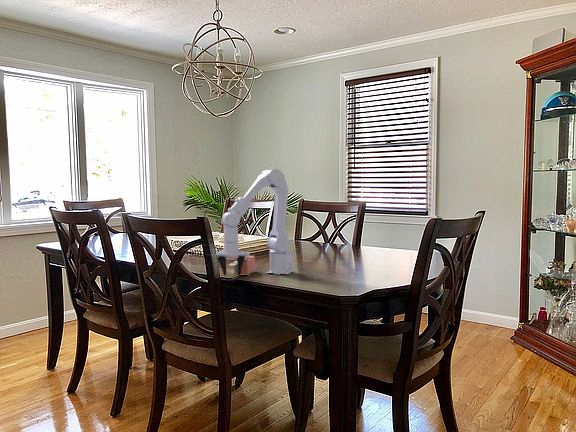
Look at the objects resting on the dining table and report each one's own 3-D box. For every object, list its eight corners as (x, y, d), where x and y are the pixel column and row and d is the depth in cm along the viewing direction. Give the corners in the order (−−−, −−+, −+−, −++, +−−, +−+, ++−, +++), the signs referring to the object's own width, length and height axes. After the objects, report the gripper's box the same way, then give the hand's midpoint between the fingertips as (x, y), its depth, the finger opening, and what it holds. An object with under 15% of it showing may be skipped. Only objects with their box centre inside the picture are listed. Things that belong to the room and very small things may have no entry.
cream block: (236, 273, 208) (236, 260, 208) (244, 273, 207) (243, 260, 207) (226, 279, 197) (226, 265, 196) (234, 279, 196) (233, 265, 195)
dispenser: (233, 270, 214) (233, 255, 213) (255, 271, 211) (254, 255, 211) (225, 275, 204) (224, 259, 203) (247, 276, 201) (247, 259, 201)
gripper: (250, 240, 200) (251, 272, 201) (215, 240, 201) (216, 272, 202) (247, 242, 193) (248, 276, 194) (211, 242, 194) (212, 276, 195)
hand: (232, 274), depth 198 cm, fingers open, 5 cm apart
